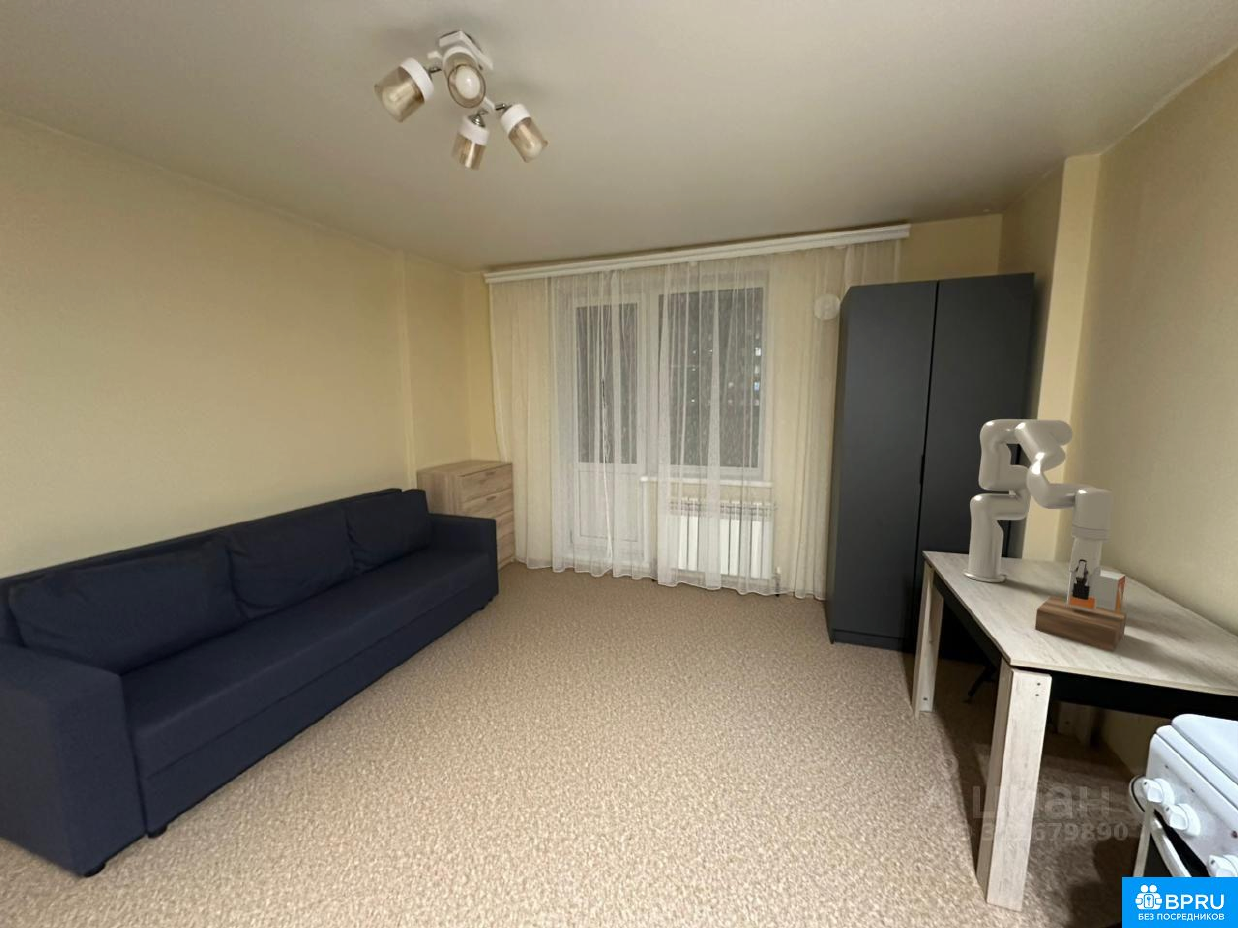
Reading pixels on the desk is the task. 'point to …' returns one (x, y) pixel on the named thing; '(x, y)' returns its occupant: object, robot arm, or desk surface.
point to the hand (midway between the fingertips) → (1082, 595)
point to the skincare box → (1093, 592)
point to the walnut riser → (1081, 623)
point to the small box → (1110, 590)
